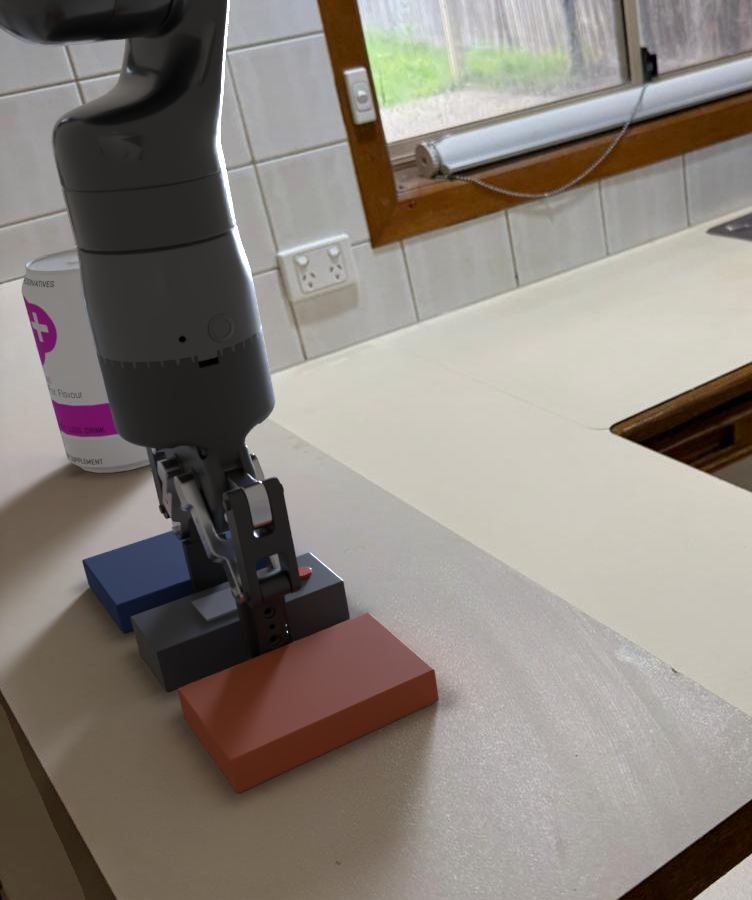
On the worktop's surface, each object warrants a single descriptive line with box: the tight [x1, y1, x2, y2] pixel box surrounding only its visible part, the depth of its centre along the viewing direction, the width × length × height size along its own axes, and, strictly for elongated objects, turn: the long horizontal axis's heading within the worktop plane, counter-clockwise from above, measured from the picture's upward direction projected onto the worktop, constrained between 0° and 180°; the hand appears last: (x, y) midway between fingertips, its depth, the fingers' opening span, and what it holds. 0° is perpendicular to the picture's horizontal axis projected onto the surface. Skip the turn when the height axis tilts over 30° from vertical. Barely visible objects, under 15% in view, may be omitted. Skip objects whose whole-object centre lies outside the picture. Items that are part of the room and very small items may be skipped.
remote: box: [130, 551, 351, 693], centre depth 60 cm, size 10×4×3 cm, turn 127°
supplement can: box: [21, 247, 150, 474], centre depth 83 cm, size 8×8×15 cm
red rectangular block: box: [177, 612, 440, 794], centre depth 54 cm, size 7×10×2 cm
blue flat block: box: [81, 530, 267, 634], centre depth 67 cm, size 7×10×2 cm
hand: (243, 624), depth 60 cm, fingers open, 7 cm apart
